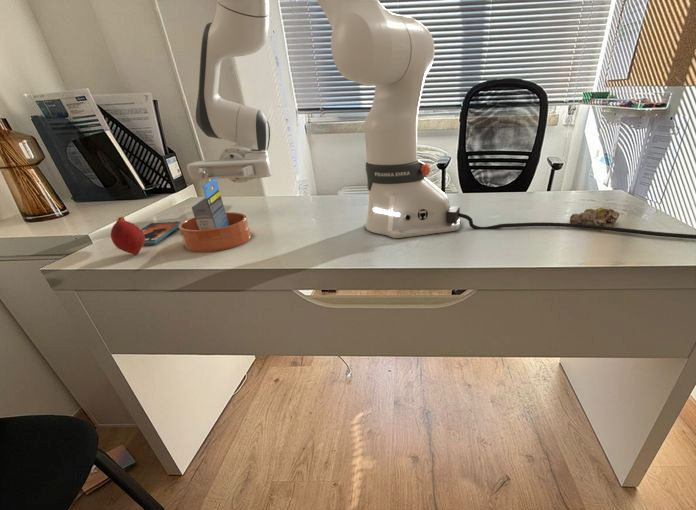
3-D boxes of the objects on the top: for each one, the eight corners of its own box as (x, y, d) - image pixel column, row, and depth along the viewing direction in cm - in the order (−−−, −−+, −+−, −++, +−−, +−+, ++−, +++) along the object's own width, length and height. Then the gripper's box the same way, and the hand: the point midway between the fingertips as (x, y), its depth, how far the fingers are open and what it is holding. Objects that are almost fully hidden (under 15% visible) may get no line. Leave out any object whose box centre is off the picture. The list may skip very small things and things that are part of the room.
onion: (136, 259, 81) (119, 221, 76) (113, 258, 82) (95, 220, 77) (156, 250, 85) (141, 213, 81) (134, 249, 86) (118, 212, 82)
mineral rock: (608, 206, 91) (627, 205, 84) (606, 225, 93) (625, 226, 85) (562, 210, 91) (577, 209, 84) (561, 229, 93) (576, 230, 85)
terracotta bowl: (257, 229, 95) (252, 210, 92) (242, 249, 83) (236, 228, 81) (199, 232, 95) (192, 214, 92) (175, 253, 83) (167, 232, 80)
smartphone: (118, 243, 87) (150, 222, 100) (121, 249, 88) (152, 228, 100) (153, 240, 87) (181, 220, 99) (156, 246, 88) (183, 225, 100)
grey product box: (216, 233, 92) (198, 178, 85) (232, 232, 92) (216, 177, 85) (203, 246, 85) (183, 186, 78) (221, 244, 85) (203, 185, 78)
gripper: (195, 153, 103) (173, 162, 91) (272, 149, 103) (260, 157, 92) (203, 179, 106) (183, 190, 95) (277, 175, 107) (266, 186, 96)
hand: (221, 174), depth 93 cm, fingers open, 8 cm apart
